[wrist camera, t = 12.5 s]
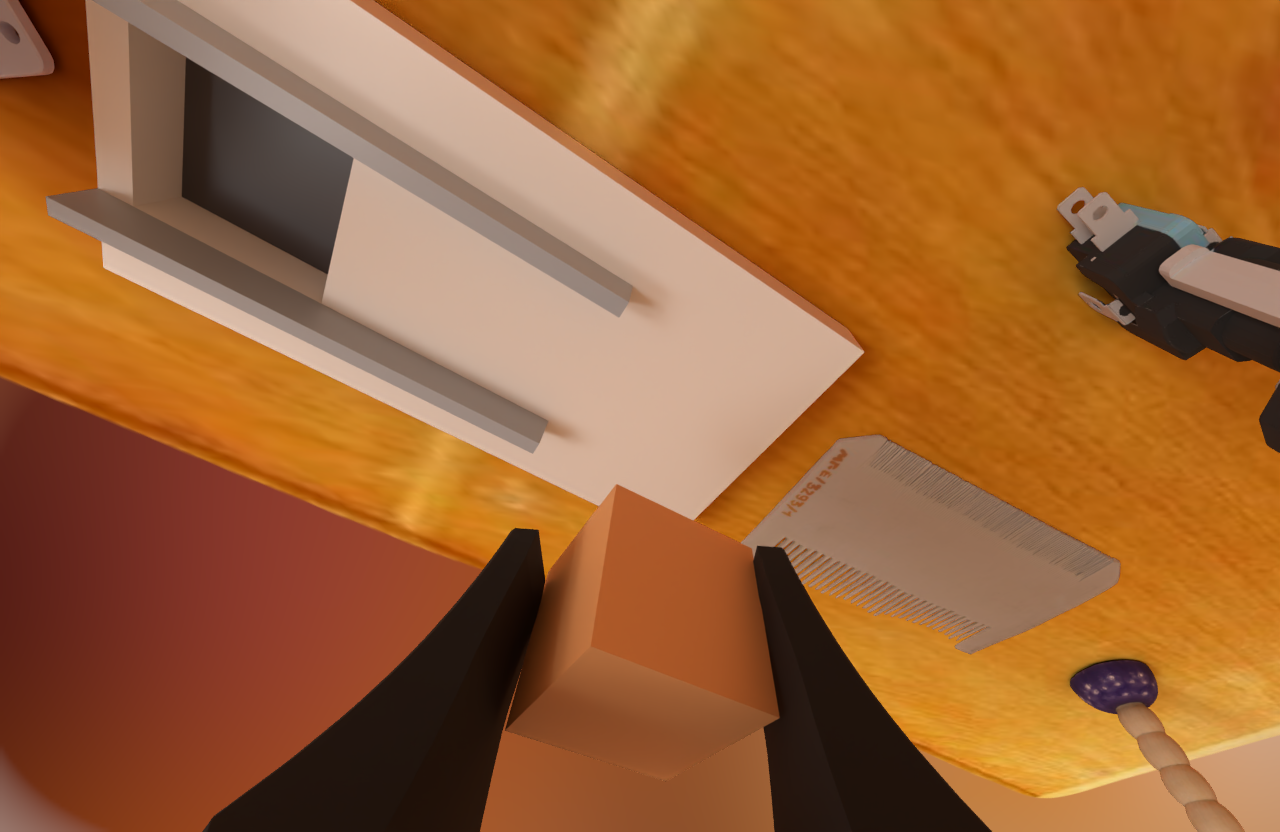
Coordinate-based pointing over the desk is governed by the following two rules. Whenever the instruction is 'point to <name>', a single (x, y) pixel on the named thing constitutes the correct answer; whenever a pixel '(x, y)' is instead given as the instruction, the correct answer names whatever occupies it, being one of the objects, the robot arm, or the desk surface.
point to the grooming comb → (930, 544)
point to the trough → (436, 246)
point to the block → (646, 643)
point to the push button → (1181, 285)
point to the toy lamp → (1153, 737)
